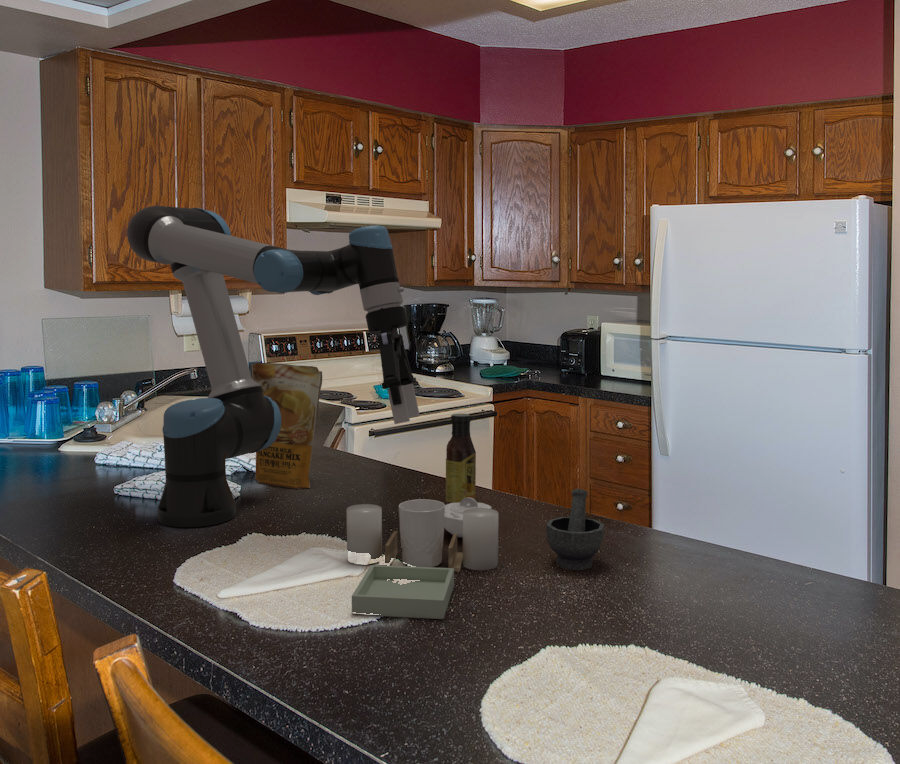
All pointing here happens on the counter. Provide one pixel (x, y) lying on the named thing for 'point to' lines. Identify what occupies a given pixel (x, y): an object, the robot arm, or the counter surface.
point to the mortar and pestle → (575, 535)
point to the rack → (453, 556)
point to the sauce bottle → (460, 461)
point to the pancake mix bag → (289, 423)
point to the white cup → (422, 532)
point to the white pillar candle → (480, 538)
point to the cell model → (459, 514)
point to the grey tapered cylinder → (365, 529)
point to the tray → (404, 592)
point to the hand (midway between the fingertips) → (407, 420)
